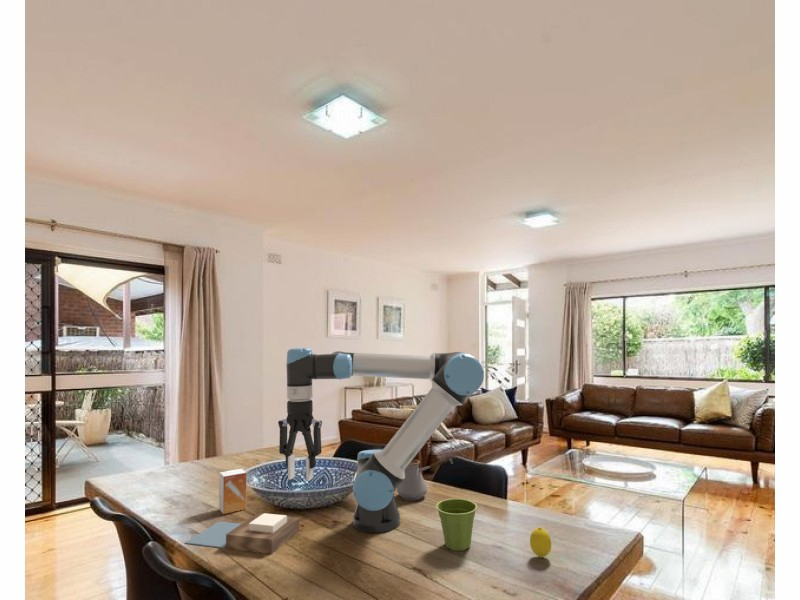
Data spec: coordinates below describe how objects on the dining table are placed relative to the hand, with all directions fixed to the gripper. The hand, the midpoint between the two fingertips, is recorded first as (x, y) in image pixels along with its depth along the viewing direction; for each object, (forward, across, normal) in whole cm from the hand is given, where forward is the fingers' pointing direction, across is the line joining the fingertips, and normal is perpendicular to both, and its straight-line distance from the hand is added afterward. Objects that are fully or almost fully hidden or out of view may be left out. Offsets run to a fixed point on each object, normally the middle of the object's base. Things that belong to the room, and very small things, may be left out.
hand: (300, 478), depth 142 cm
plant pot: (+19, +45, +9) cm, 50 cm away
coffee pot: (+19, +27, +45) cm, 56 cm away
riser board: (+19, -12, 0) cm, 23 cm away
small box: (+19, -37, +19) cm, 46 cm away
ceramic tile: (+15, -11, 0) cm, 18 cm away
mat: (+19, -28, 0) cm, 33 cm away
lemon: (+19, +68, +7) cm, 71 cm away
